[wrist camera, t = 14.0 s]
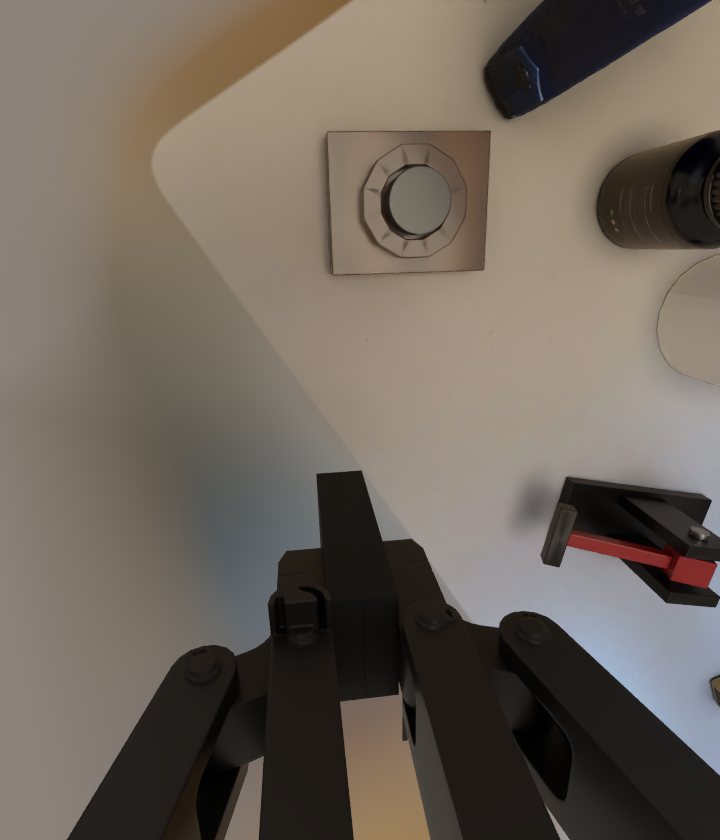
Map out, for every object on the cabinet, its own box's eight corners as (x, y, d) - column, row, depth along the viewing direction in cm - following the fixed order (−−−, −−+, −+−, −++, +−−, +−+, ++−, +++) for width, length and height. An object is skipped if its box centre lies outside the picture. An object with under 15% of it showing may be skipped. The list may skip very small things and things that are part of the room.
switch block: (330, 274, 39) (334, 276, 35) (324, 138, 36) (328, 125, 32) (474, 269, 40) (493, 271, 36) (479, 137, 37) (500, 124, 33)
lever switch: (547, 535, 48) (607, 604, 39) (566, 476, 46) (634, 533, 37) (679, 550, 50) (765, 617, 41) (702, 494, 49) (798, 552, 39)
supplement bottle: (665, 134, 38) (821, 86, 27) (688, 223, 40) (840, 213, 29) (581, 180, 39) (699, 152, 27) (609, 265, 41) (729, 272, 29)
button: (384, 235, 35) (389, 235, 33) (384, 170, 33) (388, 165, 32) (443, 234, 35) (450, 233, 33) (444, 169, 34) (452, 165, 32)
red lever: (538, 552, 44) (544, 567, 41) (555, 498, 42) (562, 511, 40) (686, 586, 43) (700, 604, 40) (709, 533, 41) (725, 548, 39)
